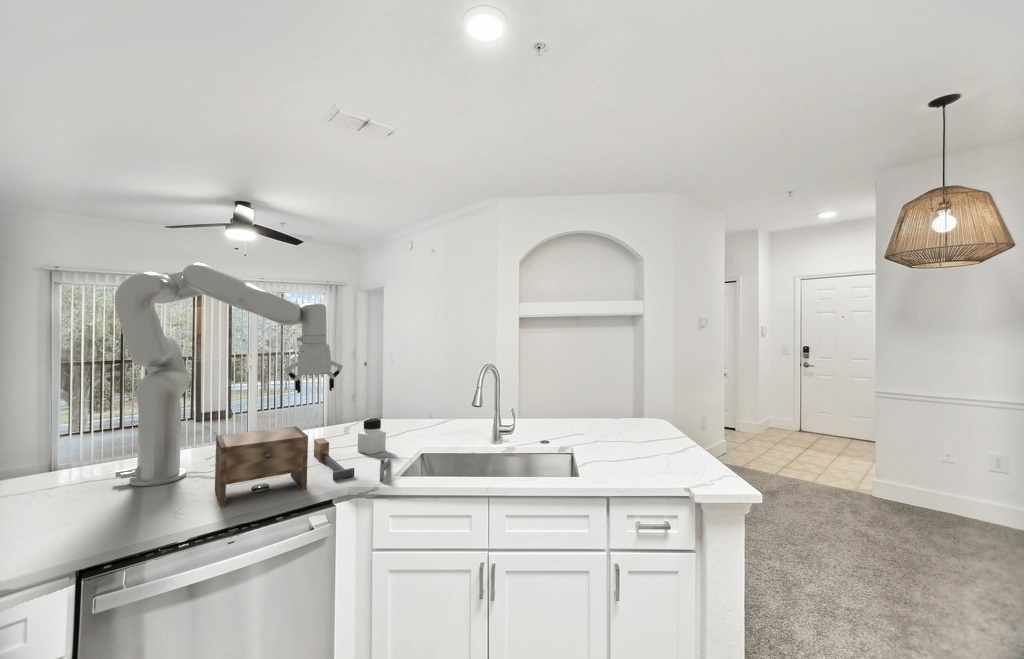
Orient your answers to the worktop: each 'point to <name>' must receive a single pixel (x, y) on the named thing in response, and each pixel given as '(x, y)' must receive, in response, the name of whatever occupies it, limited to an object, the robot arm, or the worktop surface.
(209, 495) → the worktop surface
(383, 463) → the caliper
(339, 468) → the scraper
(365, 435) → the medicine bottle
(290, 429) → the walnut cabinet
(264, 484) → the steel token
